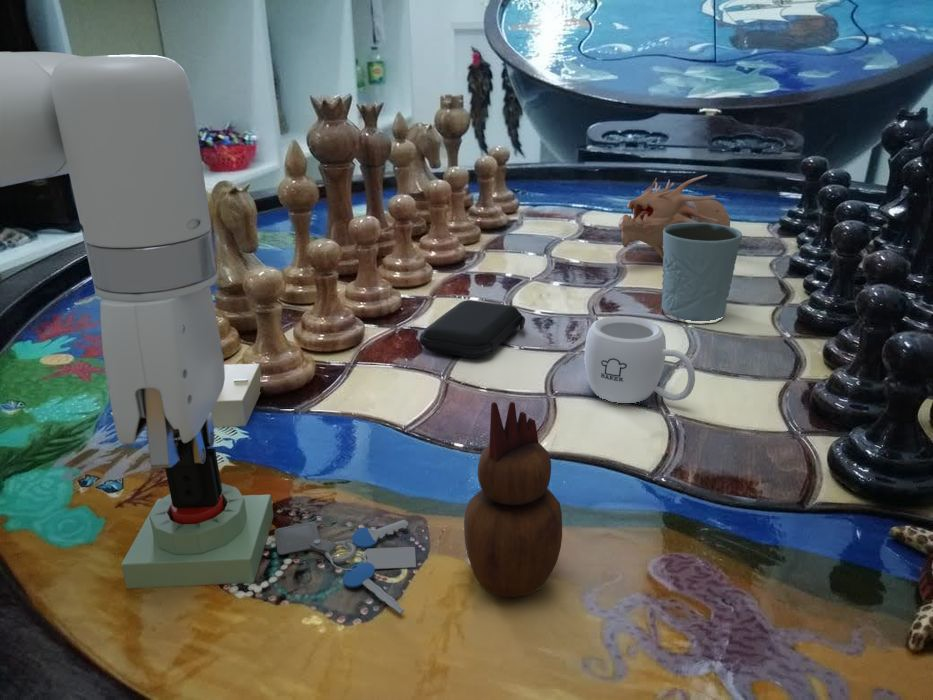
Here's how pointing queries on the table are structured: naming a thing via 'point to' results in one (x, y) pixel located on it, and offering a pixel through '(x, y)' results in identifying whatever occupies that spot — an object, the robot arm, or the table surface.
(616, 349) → the mug
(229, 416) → the plate
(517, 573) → the wooden figurine
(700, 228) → the embossed teal cup
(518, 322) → the carrying case
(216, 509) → the release button
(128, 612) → the table surface
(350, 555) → the key chain
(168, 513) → the box
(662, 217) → the dragon head statue
